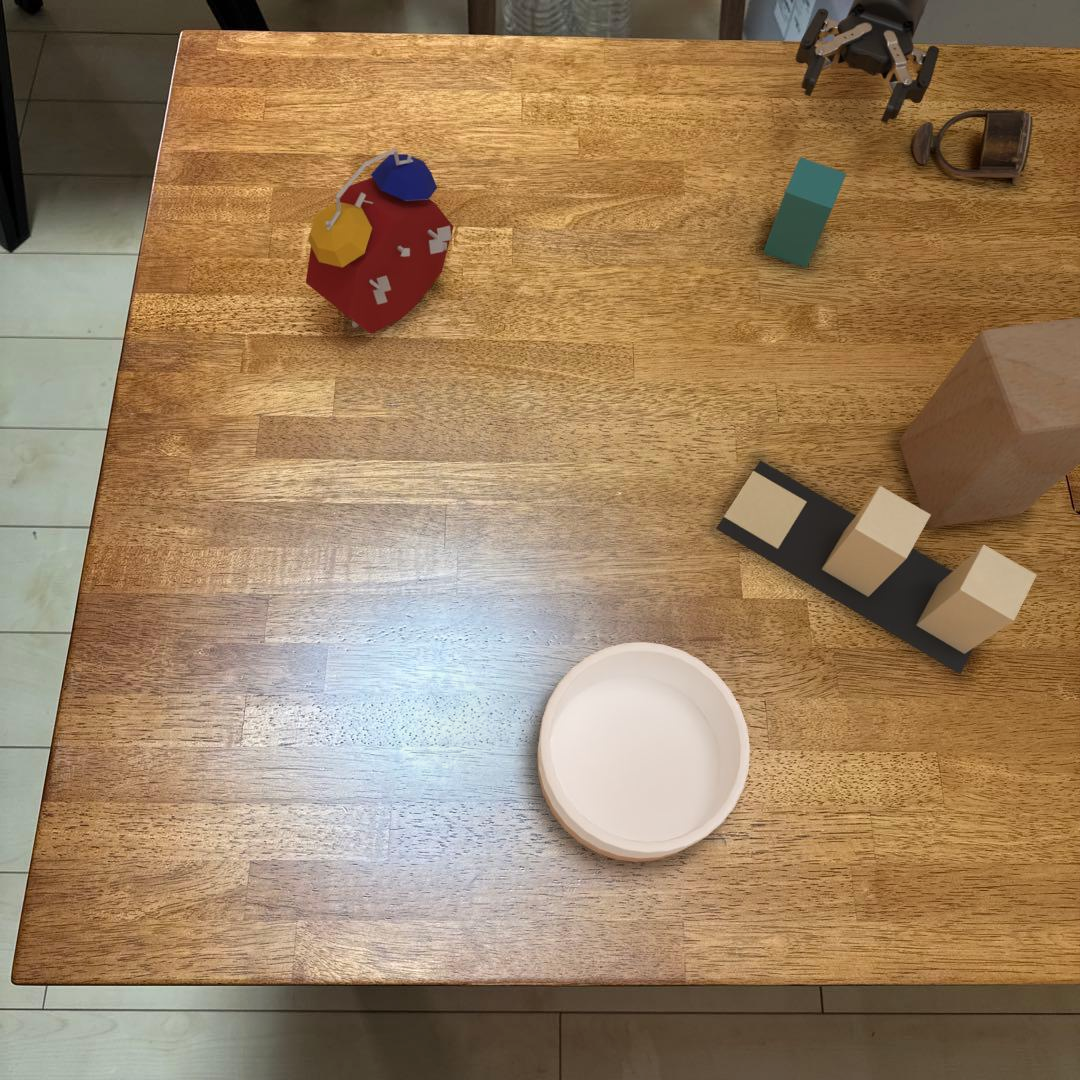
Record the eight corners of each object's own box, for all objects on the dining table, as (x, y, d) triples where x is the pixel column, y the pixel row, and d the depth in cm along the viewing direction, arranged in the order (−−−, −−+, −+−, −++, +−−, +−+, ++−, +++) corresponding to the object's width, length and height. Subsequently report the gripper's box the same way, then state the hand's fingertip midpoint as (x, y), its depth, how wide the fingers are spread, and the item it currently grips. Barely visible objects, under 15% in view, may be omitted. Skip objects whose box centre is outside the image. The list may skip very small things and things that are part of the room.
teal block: (818, 237, 113) (846, 173, 104) (805, 270, 111) (832, 208, 102) (776, 222, 114) (800, 156, 105) (762, 255, 112) (785, 191, 103)
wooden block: (1021, 516, 101) (1137, 416, 82) (925, 530, 100) (1020, 432, 81) (988, 427, 104) (1092, 313, 86) (895, 440, 104) (980, 327, 85)
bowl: (743, 691, 93) (764, 666, 85) (713, 884, 87) (733, 876, 79) (559, 648, 94) (564, 620, 86) (516, 836, 88) (517, 824, 80)
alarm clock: (415, 241, 111) (397, 97, 93) (473, 285, 109) (467, 148, 91) (317, 325, 107) (277, 191, 88) (375, 373, 105) (348, 247, 86)
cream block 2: (986, 611, 96) (1037, 574, 87) (964, 654, 95) (1014, 620, 85) (938, 583, 97) (983, 544, 88) (915, 625, 96) (959, 589, 86)
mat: (997, 599, 97) (999, 597, 97) (958, 675, 94) (960, 674, 94) (759, 462, 102) (760, 459, 102) (715, 530, 99) (716, 528, 99)
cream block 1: (891, 556, 98) (931, 514, 89) (868, 597, 96) (906, 558, 87) (845, 529, 99) (880, 485, 90) (821, 569, 97) (854, 528, 88)
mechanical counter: (1023, 185, 110) (1068, 113, 111) (920, 124, 111) (966, 54, 112) (994, 216, 117) (1037, 149, 118) (898, 159, 118) (942, 93, 119)
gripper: (839, -50, 110) (793, 51, 104) (966, -8, 108) (927, 97, 103) (819, 10, 117) (775, 108, 111) (938, 50, 115) (900, 151, 110)
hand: (847, 102), depth 107 cm, fingers open, 8 cm apart
